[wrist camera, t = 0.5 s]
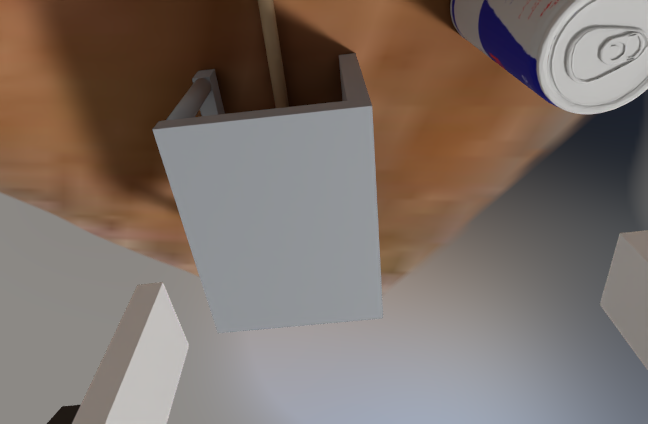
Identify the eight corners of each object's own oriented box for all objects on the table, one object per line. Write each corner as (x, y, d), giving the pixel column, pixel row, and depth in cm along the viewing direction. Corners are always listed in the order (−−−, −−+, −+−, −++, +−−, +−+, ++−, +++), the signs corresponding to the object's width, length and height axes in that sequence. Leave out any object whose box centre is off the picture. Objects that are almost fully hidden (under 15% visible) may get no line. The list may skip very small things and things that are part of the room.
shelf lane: (198, 70, 33) (152, 129, 24) (355, 53, 33) (372, 105, 23) (240, 239, 41) (218, 334, 32) (367, 227, 41) (383, 319, 31)
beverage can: (430, 5, 31) (510, 62, 19) (495, -69, 29) (636, -62, 16) (484, 59, 33) (588, 143, 21) (549, -7, 31) (710, 42, 18)
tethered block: (197, -116, 28) (153, -130, 20) (297, -129, 27) (291, -149, 20) (262, 202, 39) (250, 269, 32) (332, 195, 39) (337, 261, 32)
